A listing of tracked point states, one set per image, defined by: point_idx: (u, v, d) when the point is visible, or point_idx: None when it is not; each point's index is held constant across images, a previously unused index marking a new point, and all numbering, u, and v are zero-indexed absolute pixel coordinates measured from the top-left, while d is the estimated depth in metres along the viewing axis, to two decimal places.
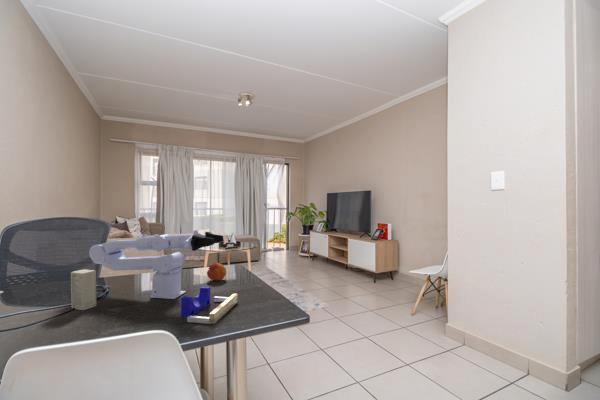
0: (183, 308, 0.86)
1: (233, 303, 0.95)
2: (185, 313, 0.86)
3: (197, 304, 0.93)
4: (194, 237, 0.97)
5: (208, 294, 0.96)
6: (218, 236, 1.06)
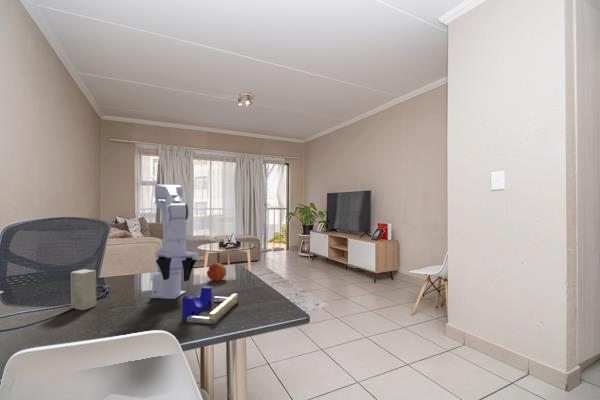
0: (184, 308, 0.86)
1: (233, 303, 0.95)
2: (187, 313, 0.86)
3: (198, 304, 0.92)
4: None
5: (210, 294, 0.96)
6: None
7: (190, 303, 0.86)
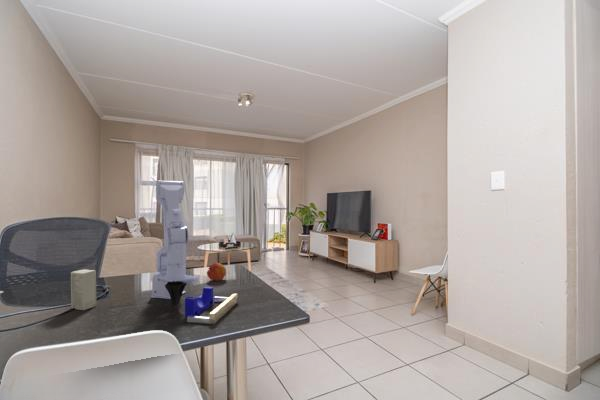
0: (187, 308, 0.86)
1: (233, 303, 0.95)
2: (189, 313, 0.86)
3: (200, 304, 0.92)
4: None
5: (211, 294, 0.96)
6: None
7: (193, 303, 0.86)
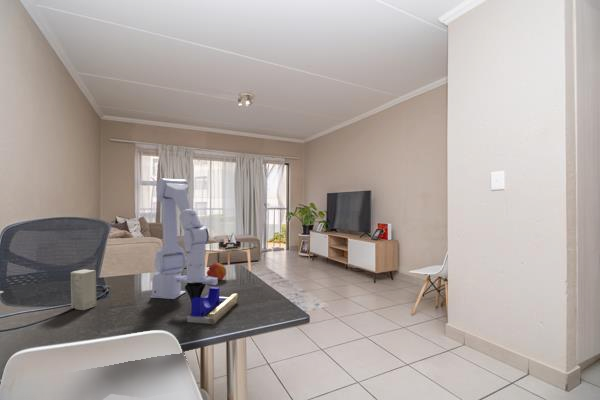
0: (193, 309, 0.85)
1: (233, 303, 0.95)
2: (196, 313, 0.85)
3: (207, 305, 0.92)
4: None
5: (218, 294, 0.96)
6: None
7: (199, 304, 0.85)
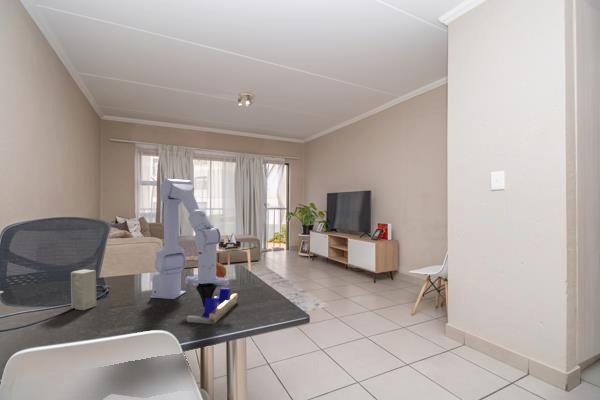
0: (207, 310, 0.85)
1: (233, 303, 0.95)
2: None
3: (218, 305, 0.92)
4: None
5: (229, 295, 0.95)
6: None
7: (213, 304, 0.85)
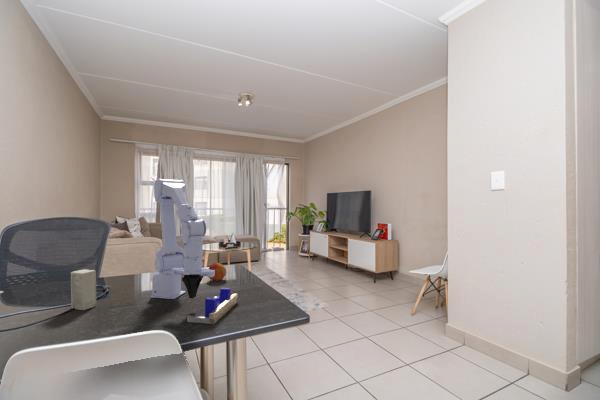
0: (207, 310, 0.85)
1: (233, 303, 0.95)
2: None
3: None
4: None
5: (229, 295, 0.96)
6: None
7: (213, 304, 0.85)
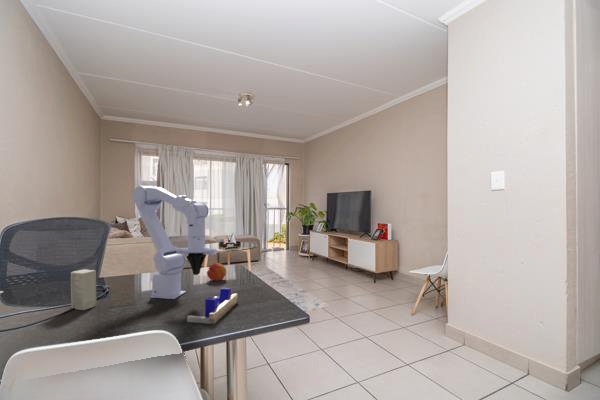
0: (207, 309, 0.85)
1: (233, 303, 0.95)
2: None
3: None
4: None
5: (229, 295, 0.96)
6: None
7: (213, 304, 0.85)
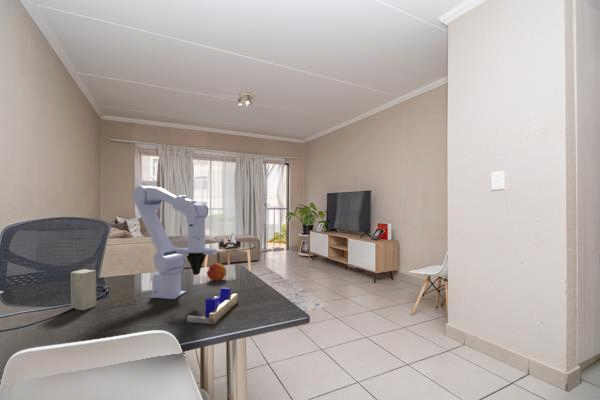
0: (208, 309, 0.85)
1: (233, 303, 0.95)
2: None
3: None
4: None
5: (229, 295, 0.96)
6: None
7: (214, 304, 0.85)
